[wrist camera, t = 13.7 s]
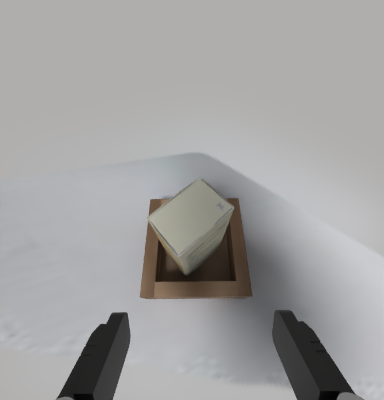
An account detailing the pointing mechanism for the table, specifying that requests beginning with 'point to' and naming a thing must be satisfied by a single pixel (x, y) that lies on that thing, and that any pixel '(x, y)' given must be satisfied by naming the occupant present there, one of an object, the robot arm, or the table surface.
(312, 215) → the table surface
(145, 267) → the block
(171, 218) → the skincare box
